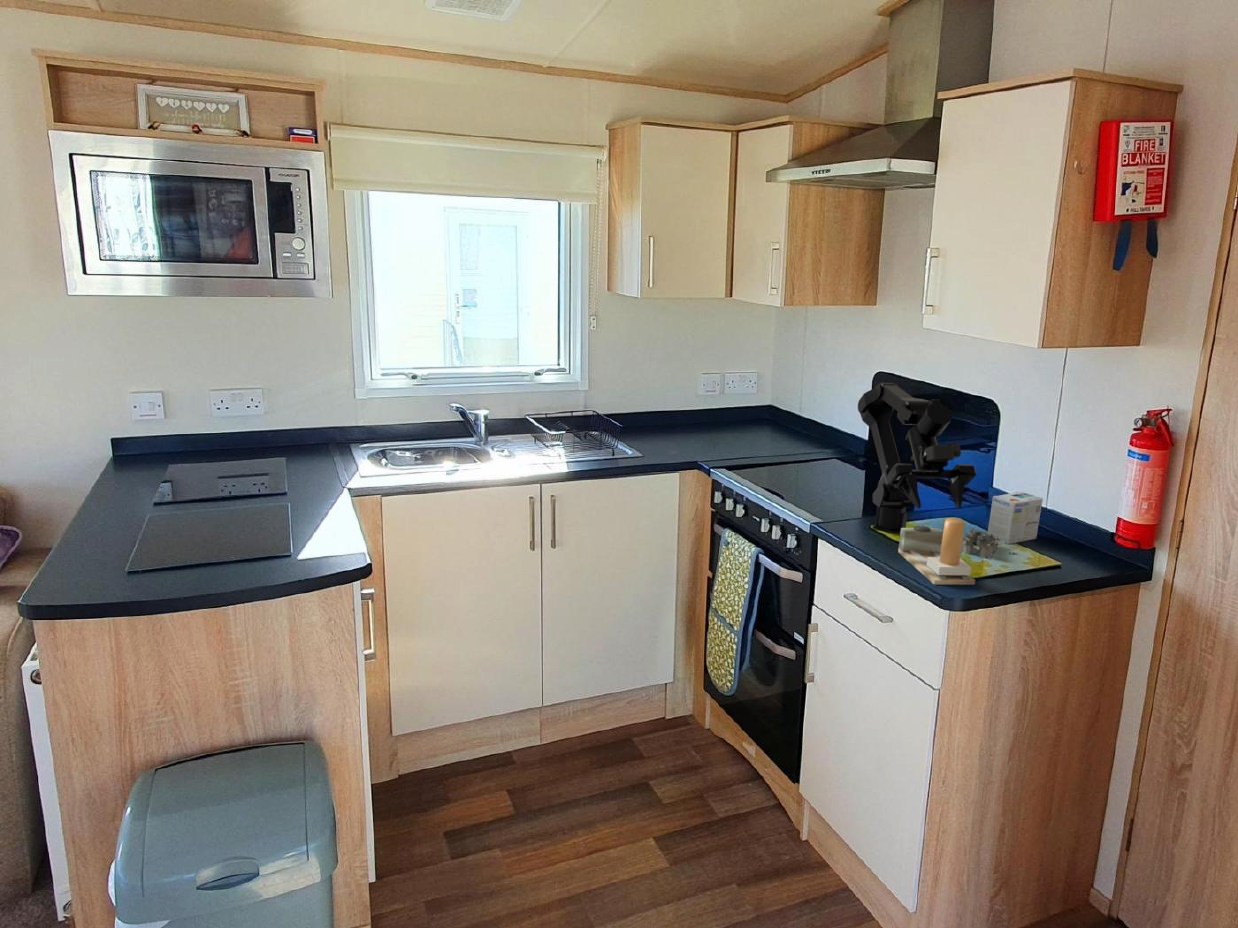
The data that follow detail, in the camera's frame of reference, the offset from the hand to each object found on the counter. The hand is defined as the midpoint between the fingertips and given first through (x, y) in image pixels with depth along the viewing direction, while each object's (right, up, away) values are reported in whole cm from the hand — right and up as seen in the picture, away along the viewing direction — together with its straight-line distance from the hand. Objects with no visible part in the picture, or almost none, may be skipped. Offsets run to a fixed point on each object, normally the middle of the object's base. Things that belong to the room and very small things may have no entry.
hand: (939, 508), depth 191 cm
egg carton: (+15, -11, +14) cm, 23 cm away
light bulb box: (+27, -9, +24) cm, 37 cm away
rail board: (0, -13, +2) cm, 13 cm away
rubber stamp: (0, -13, -5) cm, 14 cm away
